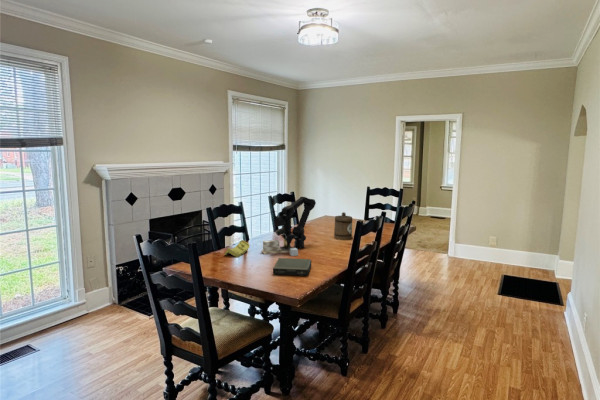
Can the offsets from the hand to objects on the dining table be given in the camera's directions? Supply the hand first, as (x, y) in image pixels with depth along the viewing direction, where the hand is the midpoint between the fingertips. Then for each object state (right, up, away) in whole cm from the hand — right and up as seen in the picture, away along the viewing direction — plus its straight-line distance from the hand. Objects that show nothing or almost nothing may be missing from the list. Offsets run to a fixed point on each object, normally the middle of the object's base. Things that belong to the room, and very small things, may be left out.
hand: (287, 245), depth 272 cm
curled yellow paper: (-34, -5, -7) cm, 35 cm away
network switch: (+5, -10, -44) cm, 46 cm away
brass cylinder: (0, -1, 0) cm, 1 cm away
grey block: (+5, -5, -10) cm, 13 cm away
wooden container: (+46, +1, +43) cm, 63 cm away
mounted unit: (-6, -4, -2) cm, 8 cm away
